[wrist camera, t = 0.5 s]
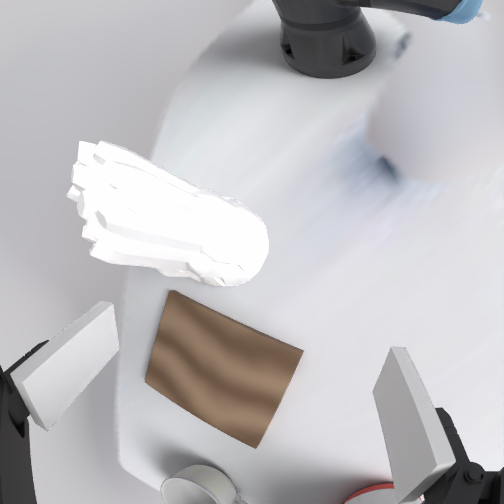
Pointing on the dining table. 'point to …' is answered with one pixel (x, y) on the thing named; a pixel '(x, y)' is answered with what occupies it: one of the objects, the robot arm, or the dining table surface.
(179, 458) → the dining table surface
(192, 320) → the board
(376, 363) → the dining table surface
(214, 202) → the decorative vase
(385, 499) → the citrus juicer
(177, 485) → the teacup
